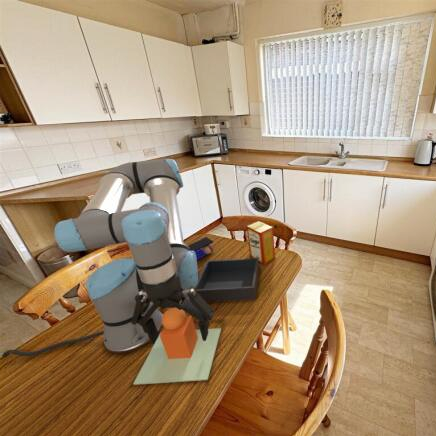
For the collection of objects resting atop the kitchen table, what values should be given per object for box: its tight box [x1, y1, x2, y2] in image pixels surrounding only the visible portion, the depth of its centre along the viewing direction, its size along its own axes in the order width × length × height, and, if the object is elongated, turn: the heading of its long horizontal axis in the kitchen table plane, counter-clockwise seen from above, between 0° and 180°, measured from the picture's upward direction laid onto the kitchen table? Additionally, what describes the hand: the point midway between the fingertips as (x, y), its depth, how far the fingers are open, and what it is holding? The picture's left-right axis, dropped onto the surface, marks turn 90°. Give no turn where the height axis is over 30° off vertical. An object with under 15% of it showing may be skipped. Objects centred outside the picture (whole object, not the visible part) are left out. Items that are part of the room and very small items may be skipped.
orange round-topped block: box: [159, 307, 198, 359], centre depth 63 cm, size 6×6×14 cm
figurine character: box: [187, 236, 214, 260], centre depth 106 cm, size 7×8×15 cm
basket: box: [195, 257, 260, 303], centre depth 89 cm, size 21×18×6 cm
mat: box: [133, 327, 222, 386], centre depth 66 cm, size 18×18×1 cm
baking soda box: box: [245, 220, 276, 265], centre depth 103 cm, size 10×6×16 cm
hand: (180, 338), depth 65 cm, fingers open, 13 cm apart
